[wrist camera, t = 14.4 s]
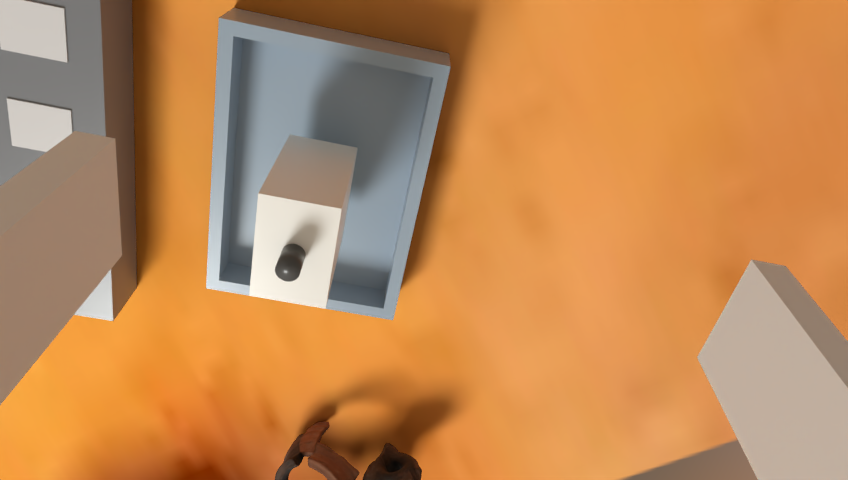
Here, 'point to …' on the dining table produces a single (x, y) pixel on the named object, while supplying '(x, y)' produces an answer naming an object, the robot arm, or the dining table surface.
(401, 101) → the tray
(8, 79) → the power strip
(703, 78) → the dining table surface
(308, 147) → the charger
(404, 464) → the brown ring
